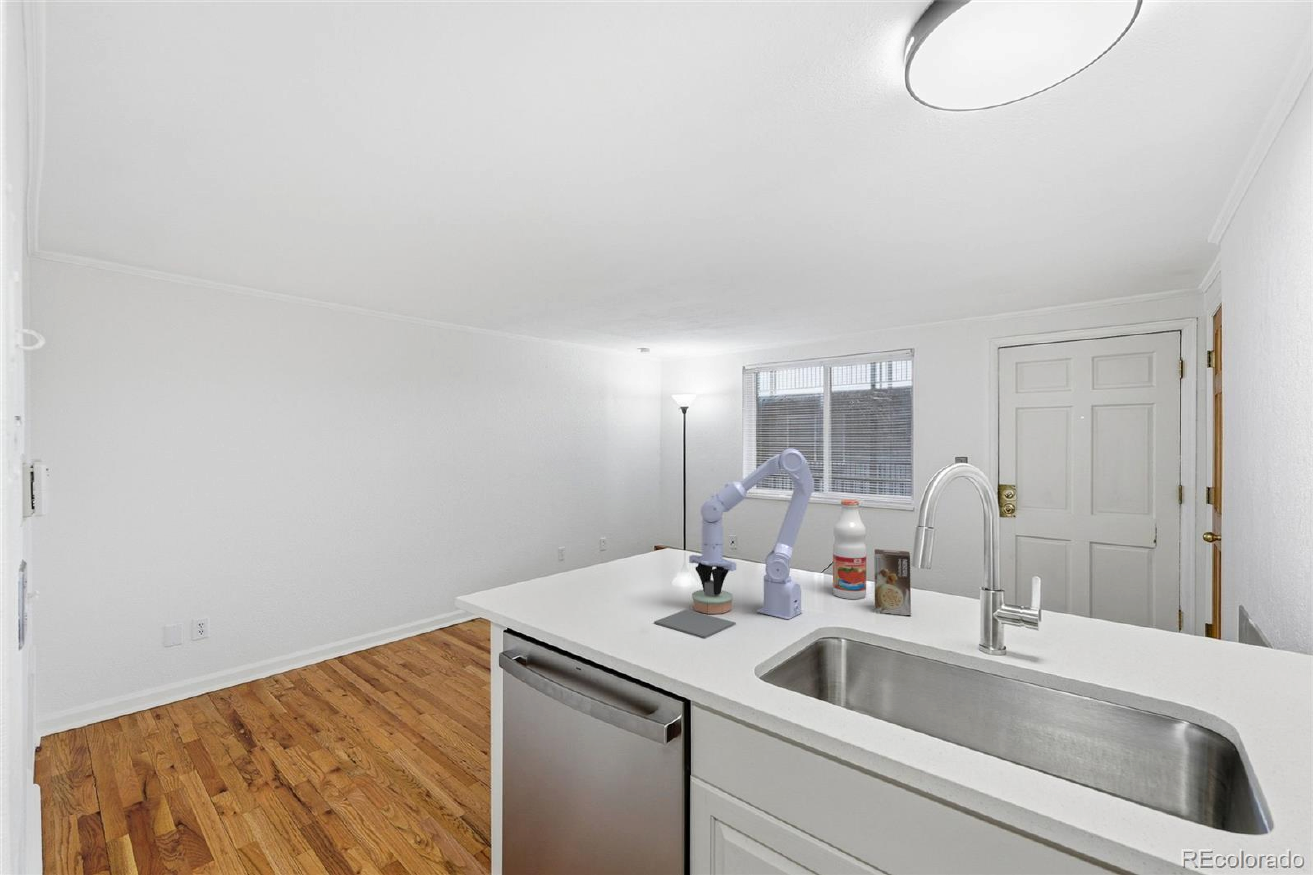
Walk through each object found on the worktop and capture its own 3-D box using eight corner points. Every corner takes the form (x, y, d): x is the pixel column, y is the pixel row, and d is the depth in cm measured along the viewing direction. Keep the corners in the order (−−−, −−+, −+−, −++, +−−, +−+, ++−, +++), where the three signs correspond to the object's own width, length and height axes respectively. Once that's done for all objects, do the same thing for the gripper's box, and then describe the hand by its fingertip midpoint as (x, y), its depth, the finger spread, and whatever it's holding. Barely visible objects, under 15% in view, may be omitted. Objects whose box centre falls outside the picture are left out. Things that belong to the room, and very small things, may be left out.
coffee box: (910, 610, 160) (910, 551, 160) (911, 617, 154) (911, 556, 154) (874, 606, 164) (874, 548, 163) (873, 612, 158) (874, 553, 157)
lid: (740, 597, 162) (740, 581, 162) (716, 606, 154) (716, 590, 154) (707, 589, 169) (707, 574, 169) (683, 598, 161) (683, 582, 161)
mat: (735, 624, 149) (735, 622, 149) (704, 638, 139) (704, 636, 139) (685, 611, 159) (685, 609, 159) (654, 623, 150) (654, 621, 150)
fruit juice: (857, 590, 179) (858, 498, 179) (871, 599, 170) (872, 502, 169) (827, 591, 178) (828, 498, 178) (840, 600, 169) (840, 503, 169)
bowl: (737, 608, 162) (737, 597, 162) (716, 617, 155) (716, 605, 155) (708, 600, 169) (708, 590, 169) (686, 609, 161) (686, 598, 161)
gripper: (682, 542, 163) (682, 590, 163) (725, 549, 154) (725, 601, 154) (697, 538, 168) (697, 585, 169) (740, 545, 159) (740, 595, 159)
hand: (712, 592), depth 162 cm, fingers closed on lid, 3 cm apart
